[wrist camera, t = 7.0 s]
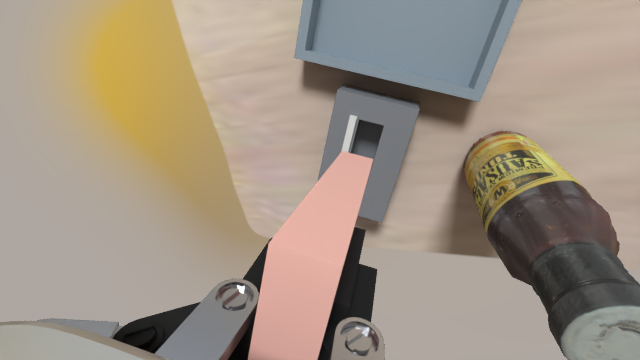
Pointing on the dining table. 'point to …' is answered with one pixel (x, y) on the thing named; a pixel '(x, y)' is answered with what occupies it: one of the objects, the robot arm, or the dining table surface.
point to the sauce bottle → (556, 246)
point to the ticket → (308, 264)
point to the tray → (409, 40)
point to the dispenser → (371, 140)
